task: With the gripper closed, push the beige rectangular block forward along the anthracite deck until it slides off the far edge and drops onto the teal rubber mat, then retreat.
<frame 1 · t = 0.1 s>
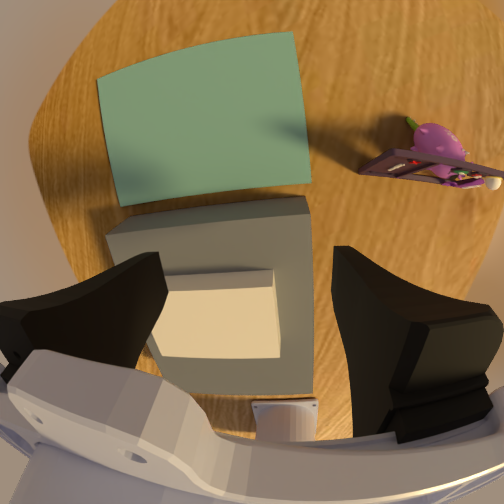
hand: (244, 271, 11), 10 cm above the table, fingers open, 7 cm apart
mat: (195, 119, 18), on the table
game card: (413, 149, 18), on the table
deck: (228, 300, 25), on the table
beige rectangular block: (214, 309, 20), point 4 cm above the table, touching deck
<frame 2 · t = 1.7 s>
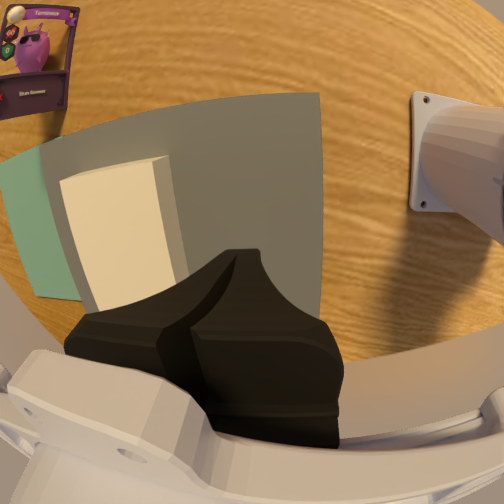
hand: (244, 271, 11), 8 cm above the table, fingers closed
mat: (43, 229, 21), on the table
game card: (54, 62, 14), on the table
deck: (187, 214, 19), on the table
beige rectangular block: (135, 239, 16), point 4 cm above the table, touching deck
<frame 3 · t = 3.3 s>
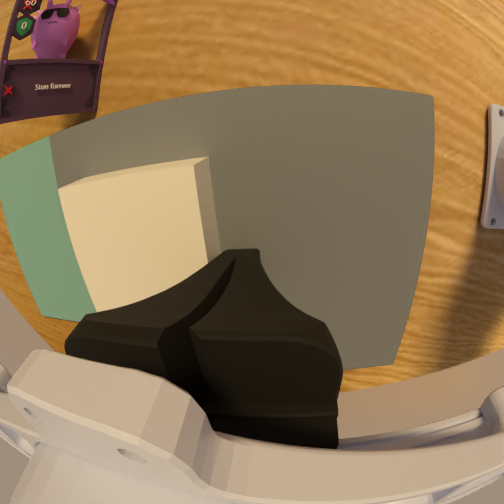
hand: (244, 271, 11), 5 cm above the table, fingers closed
mat: (50, 240, 18), on the table
game card: (81, 48, 12), on the table
deck: (244, 228, 16), on the table
beige rectangular block: (158, 264, 13), point 4 cm above the table, touching deck, gripper
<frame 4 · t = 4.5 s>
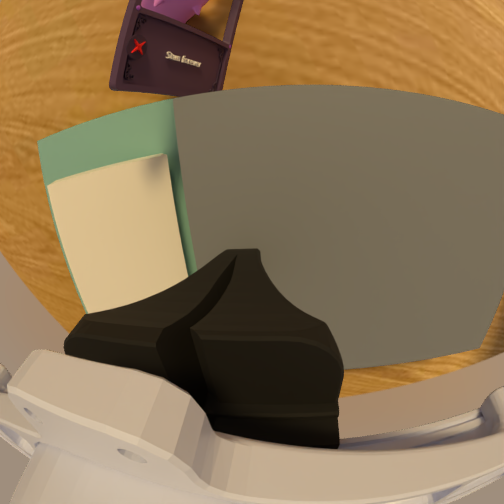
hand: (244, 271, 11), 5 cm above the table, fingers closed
mat: (118, 235, 17), on the table
game card: (194, 24, 11), on the table
deck: (367, 225, 15), on the table
beige rectangular block: (125, 257, 13), point 4 cm above the table, tilted 149°, touching mat
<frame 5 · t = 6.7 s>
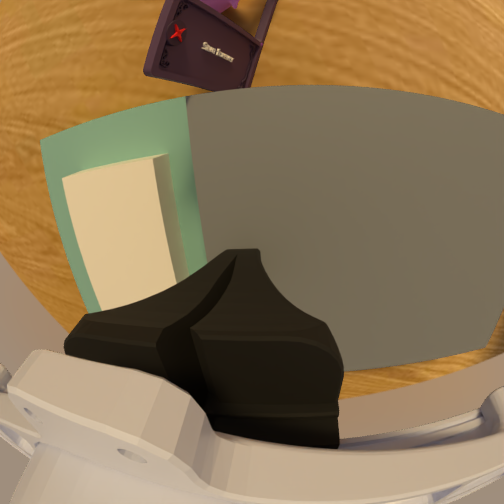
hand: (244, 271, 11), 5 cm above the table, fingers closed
mat: (124, 236, 17), on the table
game card: (225, 18, 11), on the table
deck: (377, 226, 15), on the table
beige rectangular block: (119, 249, 14), point 2 cm above the table, tilted 180°, touching mat
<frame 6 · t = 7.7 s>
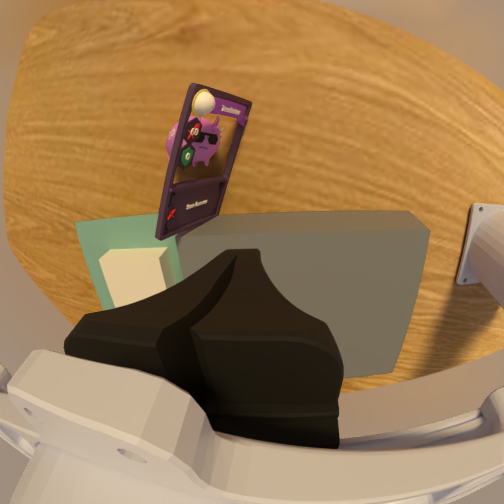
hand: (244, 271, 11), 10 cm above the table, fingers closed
mat: (141, 291, 26), on the table
game card: (204, 151, 20), on the table
deck: (303, 291, 24), on the table
beige rectangular block: (140, 304, 23), point 2 cm above the table, tilted 180°, touching mat
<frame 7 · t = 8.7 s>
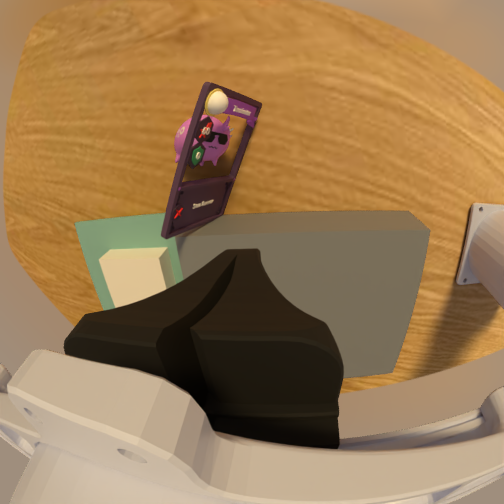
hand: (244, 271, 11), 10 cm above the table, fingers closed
mat: (141, 291, 26), on the table
game card: (211, 151, 20), on the table
deck: (303, 291, 24), on the table
beige rectangular block: (140, 304, 23), point 2 cm above the table, tilted 180°, touching mat
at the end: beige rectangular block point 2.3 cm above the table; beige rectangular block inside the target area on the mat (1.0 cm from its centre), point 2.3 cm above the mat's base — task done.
